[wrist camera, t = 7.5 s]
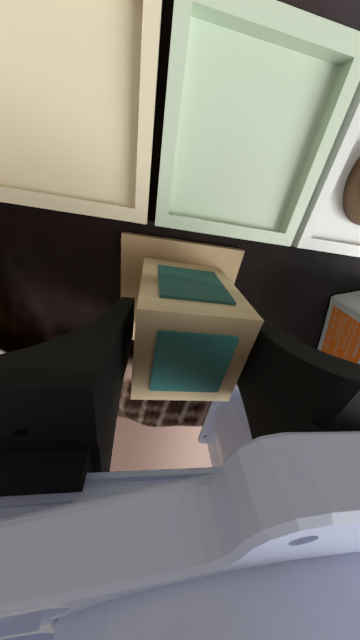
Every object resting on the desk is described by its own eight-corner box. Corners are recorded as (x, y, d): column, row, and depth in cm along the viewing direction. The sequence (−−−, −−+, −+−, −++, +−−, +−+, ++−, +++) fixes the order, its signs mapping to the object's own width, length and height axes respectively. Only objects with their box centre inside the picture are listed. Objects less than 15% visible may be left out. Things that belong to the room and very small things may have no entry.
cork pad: (213, 340, 16) (215, 344, 16) (121, 334, 15) (120, 339, 15) (241, 248, 13) (244, 251, 12) (122, 231, 11) (121, 233, 11)
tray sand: (147, 221, 11) (146, 224, 10) (-12, 196, 10) (-30, 197, 9) (163, -10, 7) (164, -42, 6) (-93, -99, 6) (-141, -156, 5)
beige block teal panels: (203, 329, 15) (229, 403, 10) (139, 323, 14) (130, 402, 9) (220, 265, 12) (267, 319, 7) (144, 255, 12) (136, 307, 6)
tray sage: (279, 242, 13) (290, 246, 12) (154, 222, 11) (154, 225, 10) (352, 55, 9) (377, 37, 8) (174, -7, 7) (177, -37, 6)
